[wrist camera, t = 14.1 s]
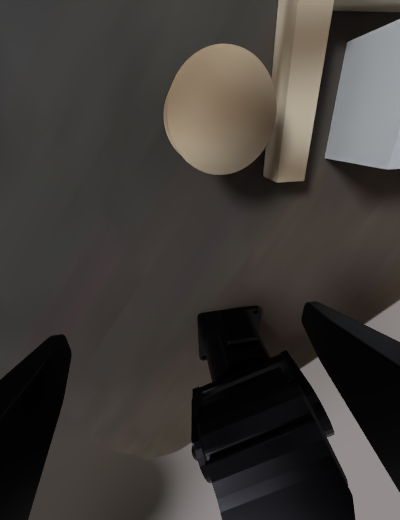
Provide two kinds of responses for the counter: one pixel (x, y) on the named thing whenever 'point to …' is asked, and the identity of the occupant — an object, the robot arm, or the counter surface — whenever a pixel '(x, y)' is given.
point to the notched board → (302, 78)
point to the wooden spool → (220, 109)
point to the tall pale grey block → (369, 102)
